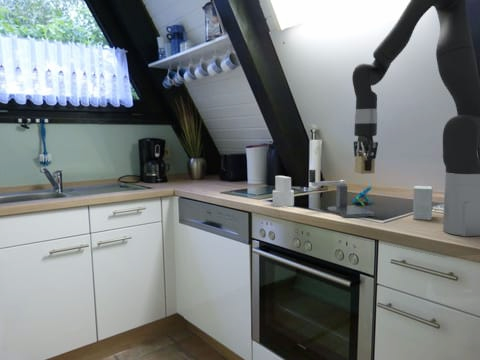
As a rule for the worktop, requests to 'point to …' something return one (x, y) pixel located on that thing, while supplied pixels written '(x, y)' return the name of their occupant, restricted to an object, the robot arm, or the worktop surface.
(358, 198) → the blue plastic figure
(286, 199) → the base with upright slab
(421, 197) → the small box
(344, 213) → the press
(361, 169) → the housing
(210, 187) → the worktop surface
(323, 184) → the lever
